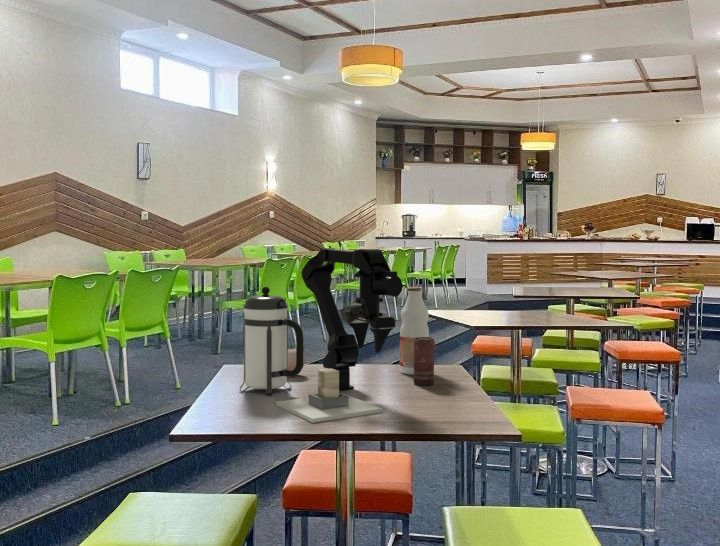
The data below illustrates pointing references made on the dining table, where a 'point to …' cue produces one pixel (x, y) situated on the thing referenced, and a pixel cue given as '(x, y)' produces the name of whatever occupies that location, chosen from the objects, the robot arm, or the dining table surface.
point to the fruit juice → (412, 327)
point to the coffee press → (268, 343)
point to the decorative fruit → (293, 358)
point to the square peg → (328, 383)
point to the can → (424, 361)
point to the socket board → (319, 415)
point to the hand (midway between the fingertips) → (369, 349)
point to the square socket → (328, 401)
